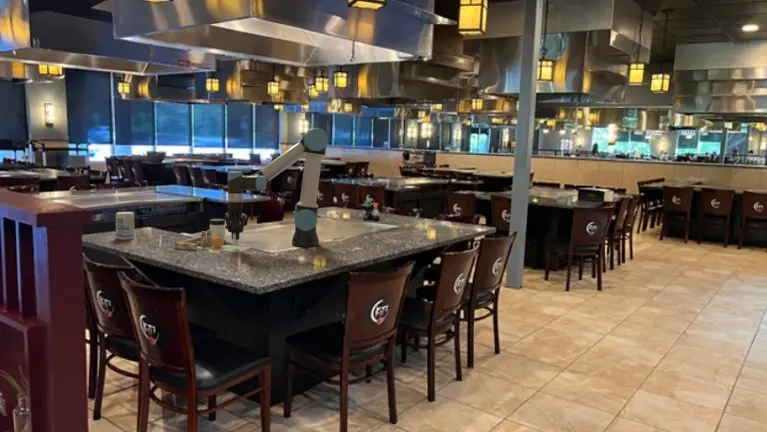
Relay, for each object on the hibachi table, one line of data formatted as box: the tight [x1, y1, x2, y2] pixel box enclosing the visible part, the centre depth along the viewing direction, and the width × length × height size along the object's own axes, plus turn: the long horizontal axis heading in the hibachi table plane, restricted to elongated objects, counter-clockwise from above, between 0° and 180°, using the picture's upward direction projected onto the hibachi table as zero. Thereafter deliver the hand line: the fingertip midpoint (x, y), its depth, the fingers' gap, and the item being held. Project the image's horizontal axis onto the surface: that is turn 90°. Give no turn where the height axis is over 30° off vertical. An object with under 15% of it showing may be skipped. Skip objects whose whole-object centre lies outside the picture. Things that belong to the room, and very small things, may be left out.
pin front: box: [196, 241, 213, 247], centre depth 306 cm, size 2×2×8 cm
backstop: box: [174, 235, 214, 251], centre depth 307 cm, size 12×22×3 cm, turn 164°
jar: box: [209, 218, 226, 242], centre depth 324 cm, size 9×8×12 cm
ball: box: [212, 237, 225, 248], centre depth 303 cm, size 6×6×6 cm
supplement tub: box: [115, 211, 135, 241], centre depth 321 cm, size 10×10×15 cm
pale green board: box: [197, 244, 253, 253], centre depth 304 cm, size 32×14×1 cm, turn 74°
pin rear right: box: [206, 229, 211, 242], centre depth 308 cm, size 2×2×8 cm
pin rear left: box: [200, 230, 207, 247], centre depth 303 cm, size 2×2×8 cm
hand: (235, 245), depth 301 cm, fingers closed
